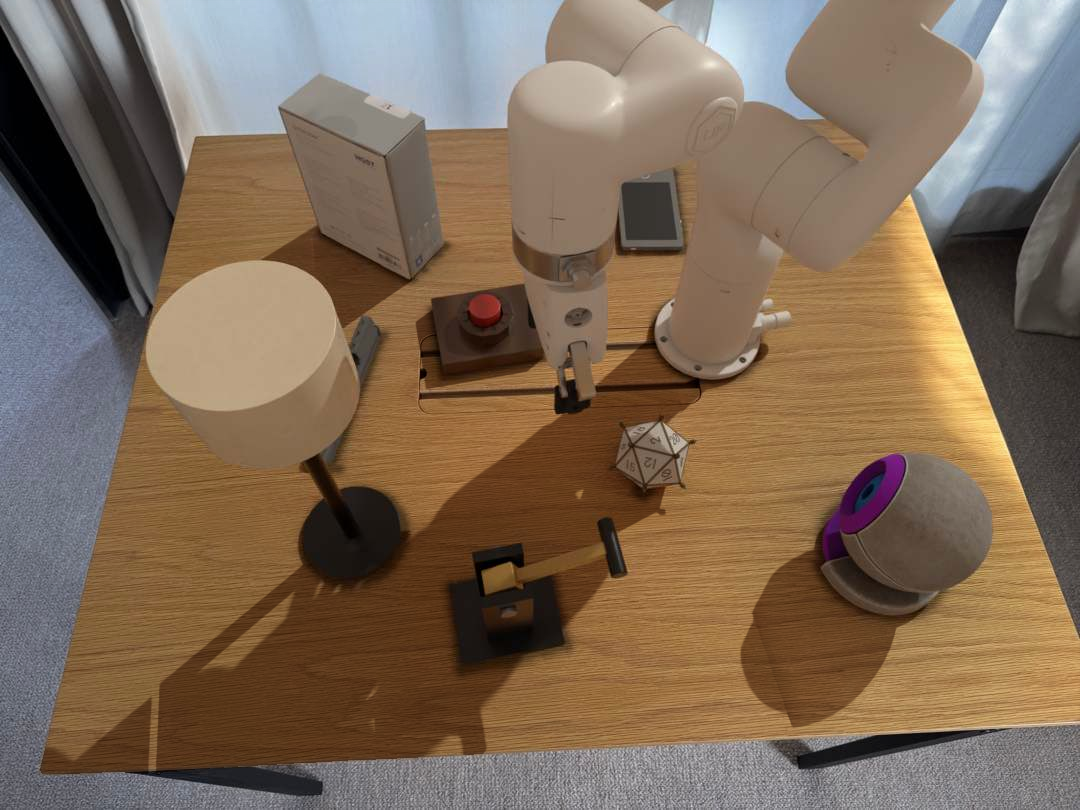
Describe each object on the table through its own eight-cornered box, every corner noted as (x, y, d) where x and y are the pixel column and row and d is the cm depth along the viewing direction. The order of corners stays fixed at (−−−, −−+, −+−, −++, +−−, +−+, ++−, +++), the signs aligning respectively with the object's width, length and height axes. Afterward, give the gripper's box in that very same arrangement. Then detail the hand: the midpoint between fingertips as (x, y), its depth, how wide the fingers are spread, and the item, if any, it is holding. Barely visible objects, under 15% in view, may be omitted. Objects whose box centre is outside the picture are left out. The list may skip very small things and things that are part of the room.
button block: (527, 294, 97) (526, 273, 93) (543, 358, 92) (543, 338, 88) (432, 309, 96) (428, 288, 92) (444, 375, 91) (440, 356, 87)
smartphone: (684, 250, 101) (685, 247, 100) (621, 251, 100) (622, 247, 100) (672, 170, 108) (673, 166, 108) (614, 170, 108) (615, 166, 108)
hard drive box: (446, 244, 101) (428, 118, 84) (411, 282, 98) (384, 159, 81) (354, 198, 105) (319, 69, 88) (317, 233, 102) (273, 106, 85)
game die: (639, 470, 88) (658, 390, 85) (697, 505, 83) (721, 421, 79) (585, 486, 82) (603, 402, 79) (644, 525, 77) (666, 436, 73)
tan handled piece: (615, 522, 67) (609, 513, 65) (630, 576, 65) (624, 569, 63) (487, 562, 69) (478, 555, 67) (497, 616, 67) (487, 611, 64)
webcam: (841, 476, 84) (896, 406, 71) (958, 532, 81) (1038, 470, 68) (798, 575, 78) (850, 518, 65) (922, 640, 75) (1002, 594, 62)
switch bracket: (547, 568, 79) (549, 520, 68) (565, 646, 74) (570, 608, 64) (450, 587, 77) (436, 542, 66) (463, 668, 73) (450, 633, 62)
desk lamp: (405, 474, 84) (329, 248, 53) (419, 579, 78) (342, 392, 47) (294, 495, 83) (149, 274, 52) (299, 603, 77) (139, 427, 46)
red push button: (497, 301, 92) (497, 291, 90) (503, 324, 90) (502, 315, 88) (467, 305, 91) (466, 296, 90) (472, 329, 90) (471, 320, 88)
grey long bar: (335, 472, 84) (325, 455, 80) (312, 468, 84) (302, 450, 81) (386, 336, 93) (380, 315, 90) (365, 332, 94) (358, 311, 90)
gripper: (649, 316, 52) (624, 436, 67) (580, 146, 61) (572, 286, 75) (542, 338, 51) (541, 454, 66) (487, 162, 60) (497, 300, 75)
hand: (557, 364), depth 71 cm, fingers open, 9 cm apart
